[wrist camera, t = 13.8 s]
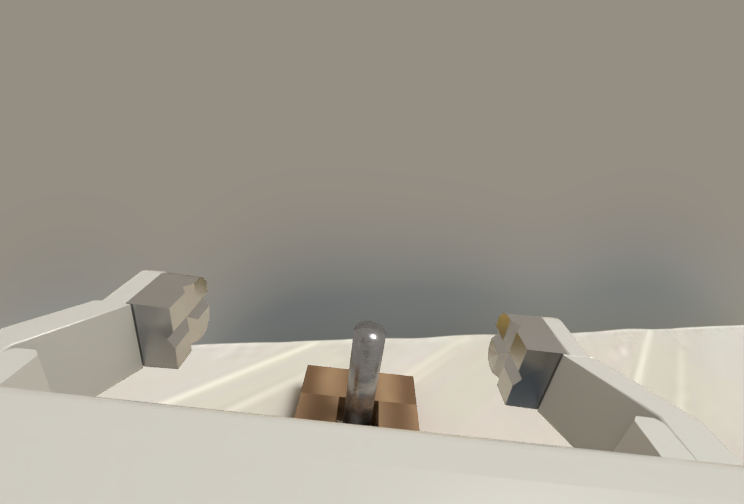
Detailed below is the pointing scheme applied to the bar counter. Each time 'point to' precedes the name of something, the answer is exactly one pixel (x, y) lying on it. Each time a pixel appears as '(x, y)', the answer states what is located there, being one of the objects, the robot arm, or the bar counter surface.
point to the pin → (364, 372)
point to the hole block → (329, 393)
